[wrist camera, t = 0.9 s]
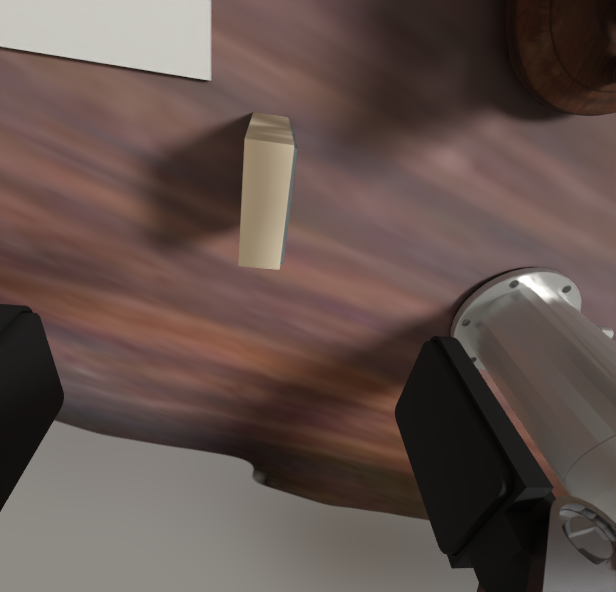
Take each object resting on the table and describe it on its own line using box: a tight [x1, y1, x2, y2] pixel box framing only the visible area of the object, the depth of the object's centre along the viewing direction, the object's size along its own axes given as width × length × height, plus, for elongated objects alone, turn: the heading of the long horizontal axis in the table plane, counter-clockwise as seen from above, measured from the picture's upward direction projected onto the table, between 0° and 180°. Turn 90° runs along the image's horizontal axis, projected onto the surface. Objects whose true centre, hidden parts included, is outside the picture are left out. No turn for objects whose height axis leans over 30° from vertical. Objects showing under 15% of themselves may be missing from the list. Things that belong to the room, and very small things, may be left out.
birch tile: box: [238, 112, 298, 270], centre depth 23 cm, size 3×7×9 cm, turn 171°
